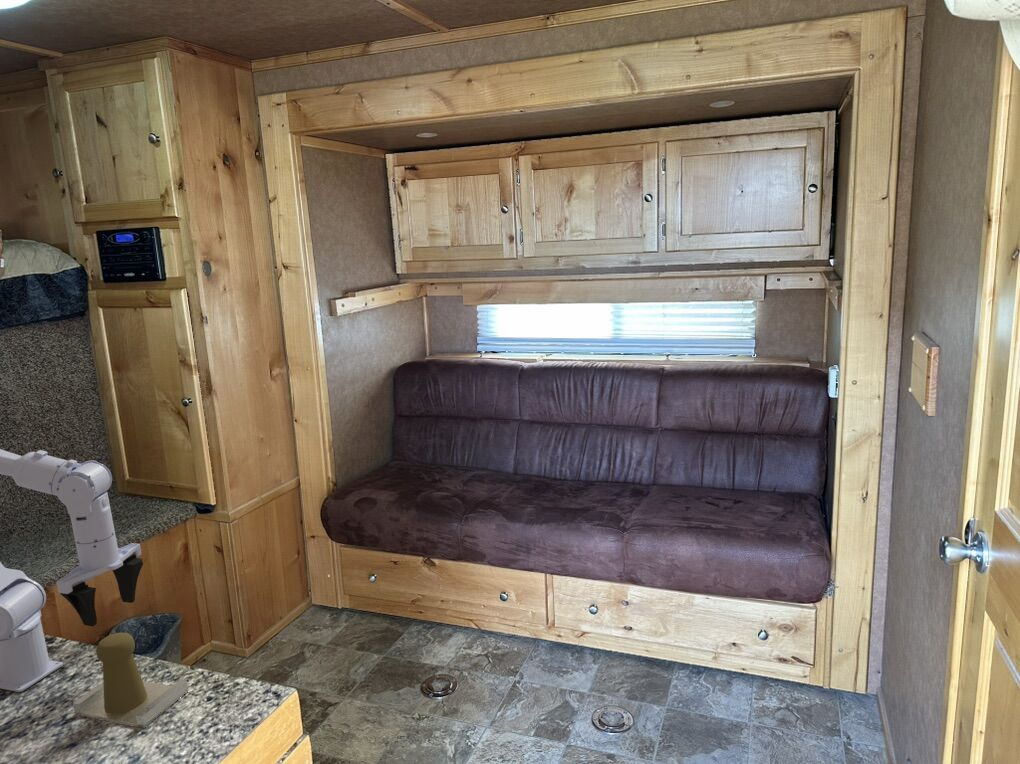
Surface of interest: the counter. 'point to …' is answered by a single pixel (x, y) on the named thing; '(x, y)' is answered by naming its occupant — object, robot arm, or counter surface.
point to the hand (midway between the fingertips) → (110, 612)
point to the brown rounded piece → (120, 674)
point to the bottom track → (140, 716)
